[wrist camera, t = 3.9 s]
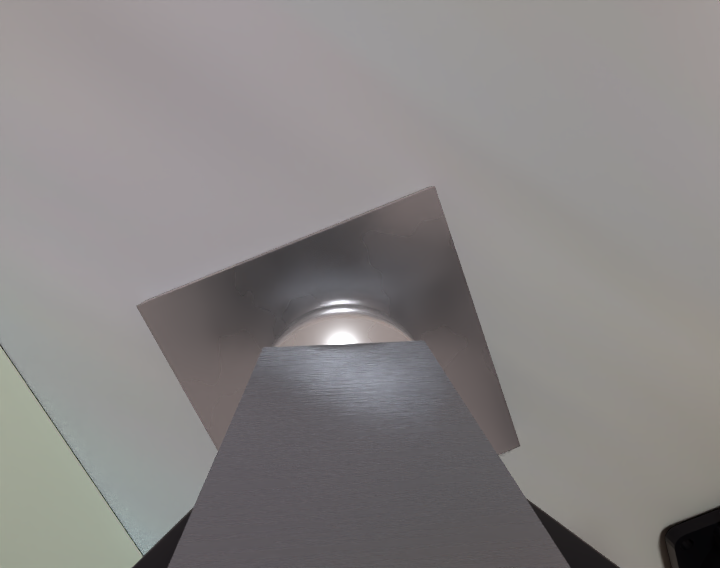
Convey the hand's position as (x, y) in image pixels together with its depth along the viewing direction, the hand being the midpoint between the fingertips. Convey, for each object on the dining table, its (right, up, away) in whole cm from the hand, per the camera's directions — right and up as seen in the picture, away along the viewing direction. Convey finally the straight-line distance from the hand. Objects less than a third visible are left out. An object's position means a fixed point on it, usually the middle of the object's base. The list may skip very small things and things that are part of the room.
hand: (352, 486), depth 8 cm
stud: (0, +1, +5) cm, 5 cm away
